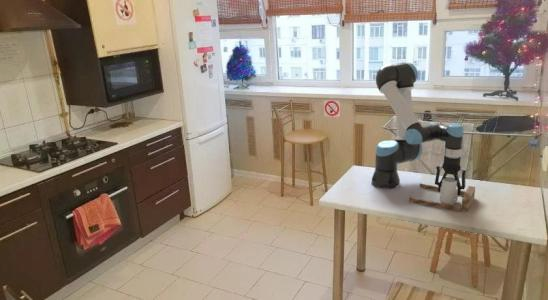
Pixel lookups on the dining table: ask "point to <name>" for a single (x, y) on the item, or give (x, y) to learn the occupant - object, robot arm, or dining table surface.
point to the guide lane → (435, 204)
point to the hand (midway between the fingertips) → (448, 199)
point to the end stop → (468, 198)
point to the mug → (448, 190)
